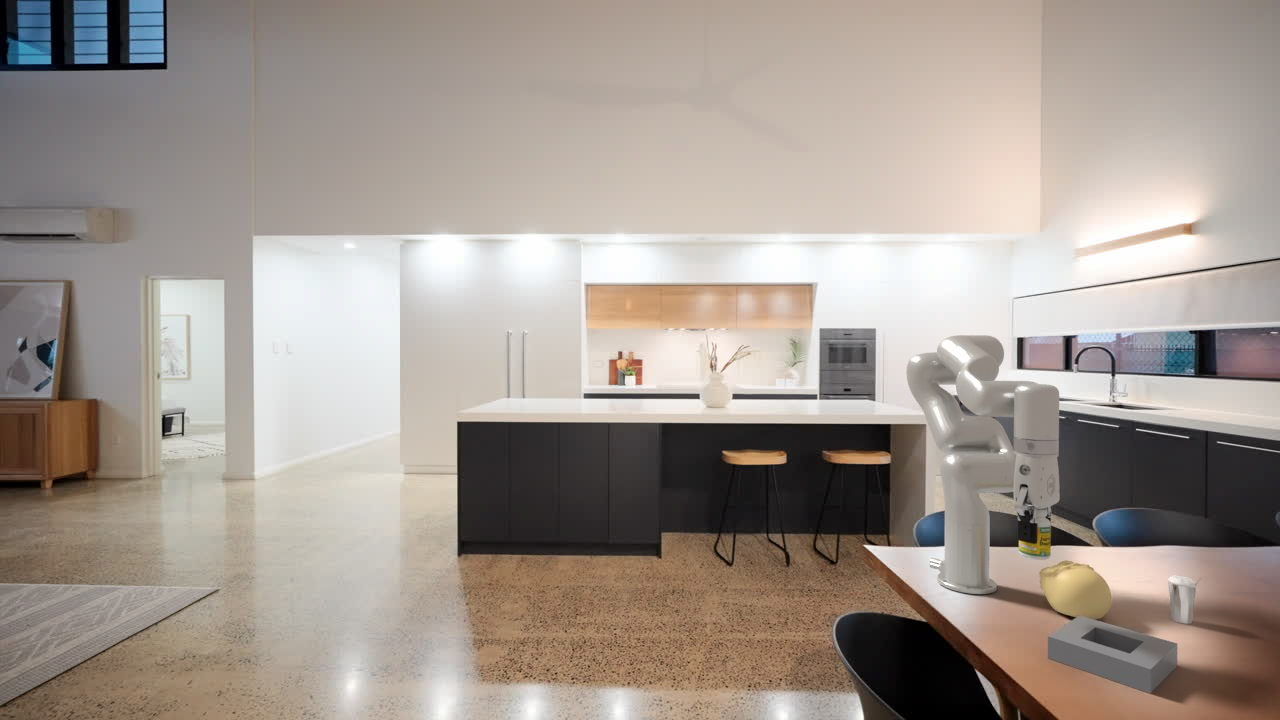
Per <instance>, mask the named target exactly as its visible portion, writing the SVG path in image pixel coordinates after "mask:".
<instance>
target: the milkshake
mask: <svg viewBox="0 0 1280 720" xmlns="http://www.w3.org/2000/svg"><path fill="white" fill-rule="evenodd" d="M1201 579H1202V576H1201V577H1199V579H1198V580H1197V582H1196V580H1194V579H1192V578H1190V577H1187V576H1183V575H1177V574H1174V575H1170V576H1169V577H1168V578H1167V583H1168V584H1167V585H1168V592H1169V601H1170V617H1171V620H1173V621H1174V622H1177V623H1180V624H1185V625H1189V624H1193V616H1194V605H1195V598H1196V594H1197V587H1198V583H1199V582H1200V580H1201Z"/></svg>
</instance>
